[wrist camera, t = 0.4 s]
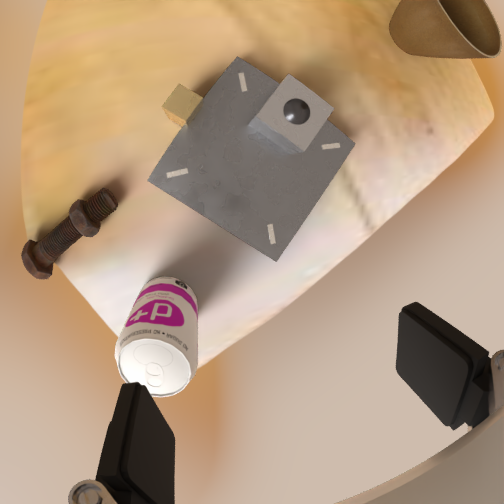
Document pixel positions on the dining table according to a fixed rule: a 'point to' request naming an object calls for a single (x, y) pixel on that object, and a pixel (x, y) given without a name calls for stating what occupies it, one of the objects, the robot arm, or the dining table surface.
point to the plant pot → (446, 29)
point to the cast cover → (291, 115)
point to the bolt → (68, 233)
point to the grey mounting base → (244, 162)
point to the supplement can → (160, 338)
